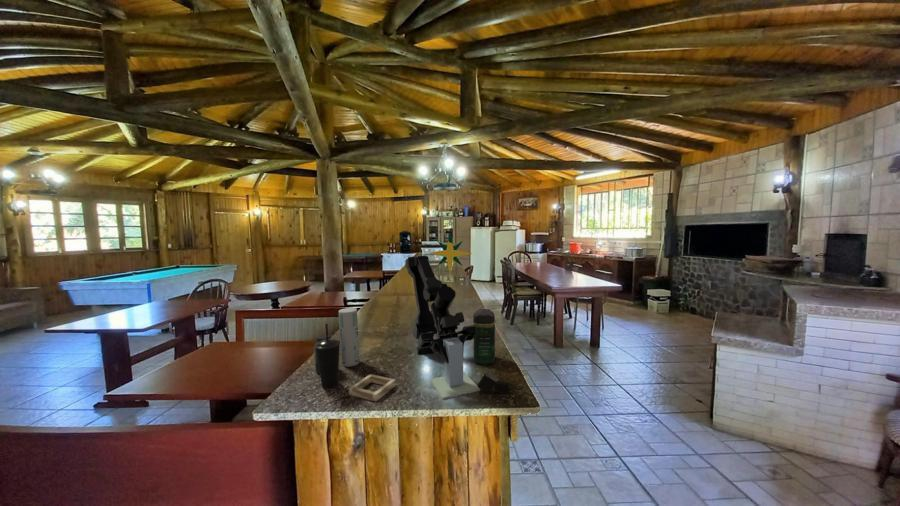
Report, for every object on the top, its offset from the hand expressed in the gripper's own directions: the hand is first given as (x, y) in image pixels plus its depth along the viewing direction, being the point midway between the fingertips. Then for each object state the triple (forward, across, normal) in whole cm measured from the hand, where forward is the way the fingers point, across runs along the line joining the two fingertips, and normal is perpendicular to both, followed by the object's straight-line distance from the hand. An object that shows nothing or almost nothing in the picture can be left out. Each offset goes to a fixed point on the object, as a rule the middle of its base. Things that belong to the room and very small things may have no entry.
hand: (455, 361), depth 101 cm
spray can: (-17, -29, +29) cm, 44 cm away
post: (+4, 0, +6) cm, 7 cm away
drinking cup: (-7, -36, +19) cm, 41 cm away
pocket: (0, -24, +12) cm, 27 cm away
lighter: (+11, +9, +1) cm, 15 cm away
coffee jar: (-4, +18, +16) cm, 24 cm away
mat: (+5, 0, +7) cm, 8 cm away
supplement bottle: (-15, -37, +28) cm, 49 cm away
